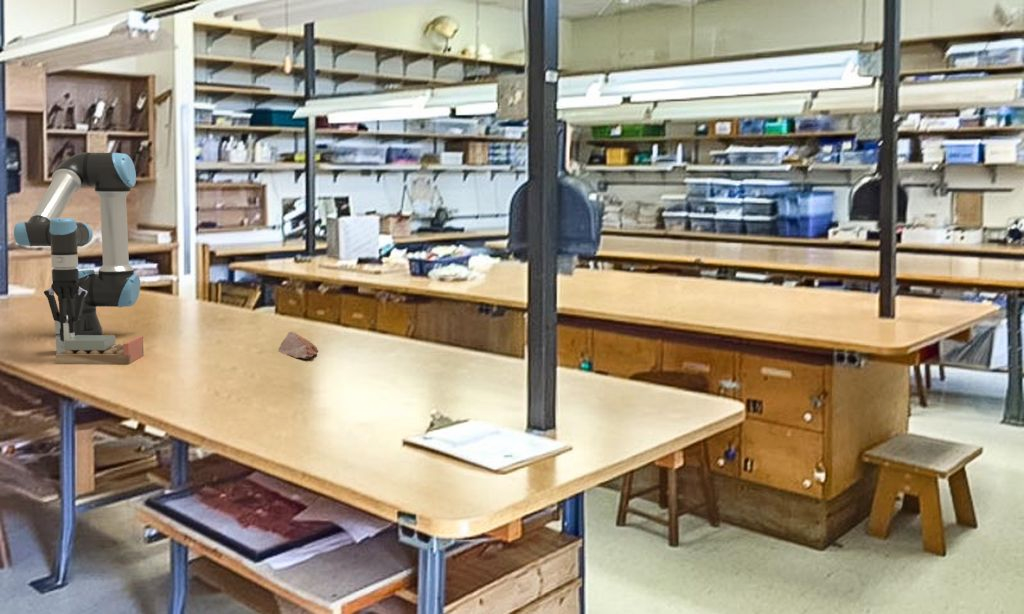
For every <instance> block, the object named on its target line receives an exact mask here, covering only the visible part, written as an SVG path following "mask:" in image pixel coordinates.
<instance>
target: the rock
mask: <svg viewBox="0 0 1024 614" xmlns="http://www.w3.org/2000/svg"><path fill="white" fill-rule="evenodd" d="M278 352H279V353H280V354H282V355H286V356H289V357H293V358H295V359H299V358H300V359H304V360H306V359H310V358H313V357H314V356H318V352H319V350H318V347H317V346H315V344H313V342H311V341H310V340H309V339H307V338H304V337H303V336H302V335H299V334H298V333H297V332H294V331H289V332H287V335H286V337H285V338H284V339H282V341H281V343H280V346H279V347H278Z"/></svg>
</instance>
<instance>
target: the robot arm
mask: <svg viewBox="0 0 1024 614" xmlns="http://www.w3.org/2000/svg"><path fill="white" fill-rule="evenodd" d="M136 172H137V171H136V168H135V164H134V161H133V160H132V158H131V157H130V155H128V154H127V153H122V152H121V153H120V152H80V153H76V154H74V155H72V156H70V157H68V158H67V159H65V160H64V161H62V162H61V163H60V164H58V166H57V167H56V169H55V170H54V171H53V172H52V175H51V183H50V185H49V186H48V188H47V190H46V191H45V193H44V194H43V197H41V199H40V201H39V203H38V204H37V206H36V208H35V210H34V211H33V212H32V214H31V216H30V218H29V219H28V221H22V222H18V223H16V224H15V226H14V227H13V228H14V229H13V237H14V241H15V243H16V244H17V245H19V246H22V247H23V246H25V247H50V254H51V255H50V259H51V267H52V268H53V269H51V281H52V283H51V286H50V288H49V289H46V290H44V291H43V294H44V295H45V297H46V298H47V301H48V305H49V309H50V311H51V314H52V318H53V321H54V322H55V321H58V322H60V326H61V333H64V340H67V339H69V338H71V337H72V333H75V336H76V335H103V327H102V325H101V322H100V319H99V317H98V314H97V308H98V307H99V308H101V307H103V308H104V307H106V308H107V307H108V308H114V307H115V308H127V307H132V306H134V305H135V304H136V302H137V301H138V299H139V295H140V291H141V278H140V276H139V275H138V274H136V273H135V272H134V271H135V269H134V267H132V266H131V264H130V261H129V257H130V256H129V236H128V234H129V233H128V230H129V229H128V213H127V211H128V210H127V209H128V207H127V196H128V195H129V194H130V193H131V188H133V187H135V186H136V181H137V173H136ZM83 187H94V192H95V194H97V196H98V197H99V208H100V230H101V251H102V265H101V266H100V267H99V269H98V273H96V272H95V269H84V270H83V269H82V270H79V269H78V267H79V259H78V258H79V257H78V256H79V254H78V248H79V247H83V246H86V245H88V244H89V243H90V242H91V241H92V239H93V235H94V233H93V230H92V228H91V226H89V225H88V224H87V223H85V222H79V221H78V222H77V221H76V219H75V218H73V217H61V216H62V214H63V213H64V210H65V209H66V207H67V206H68V204H69V202H70V200H71V199H72V197H73V195H74V193H78V191H79V190H80V189H81V188H83ZM55 295H56V296H57V300H56V298H55ZM57 301H58V302H57ZM57 303H58V304H57ZM67 316H68V321H67ZM66 321H67V322H66ZM64 344H65V342H64Z"/></svg>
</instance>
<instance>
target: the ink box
mask: <svg viewBox="0 0 1024 614" xmlns="http://www.w3.org/2000/svg"><path fill="white" fill-rule="evenodd" d="M67 321H68V316H67ZM67 321H66V322H67ZM54 334H55V348H56V354H63V352H64V351H66V350H65V344H64V333H61V326H60V322H58V321H55V320H54ZM74 336H75V333H72V337H74Z"/></svg>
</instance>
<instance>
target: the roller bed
mask: <svg viewBox="0 0 1024 614" xmlns="http://www.w3.org/2000/svg"><path fill="white" fill-rule="evenodd" d="M144 353H145V351H144V347H143V348H142V357H144V355H145V354H144ZM124 361H127V363H126V362H124ZM129 362H130V364H132V363H131V355H128V357H127V356H126V355H123V344H121V343H119V344H116V345H114V346H112V347H110V348H108V349H106V350H66V351H64V352H63V354H57V353H56V354H55V364H57V365H59V364H62V365H63V364H64V365H130V364H129Z"/></svg>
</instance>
